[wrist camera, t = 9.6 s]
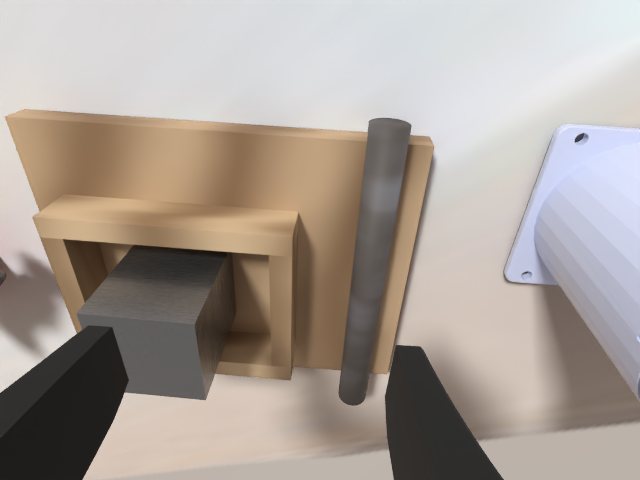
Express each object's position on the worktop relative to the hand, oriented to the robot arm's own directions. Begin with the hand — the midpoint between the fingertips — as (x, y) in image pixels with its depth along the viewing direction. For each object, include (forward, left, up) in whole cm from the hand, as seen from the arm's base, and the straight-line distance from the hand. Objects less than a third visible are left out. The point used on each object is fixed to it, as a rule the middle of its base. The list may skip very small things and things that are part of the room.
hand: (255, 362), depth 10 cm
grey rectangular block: (+5, +5, -9) cm, 12 cm away
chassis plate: (+3, +4, -10) cm, 12 cm away
